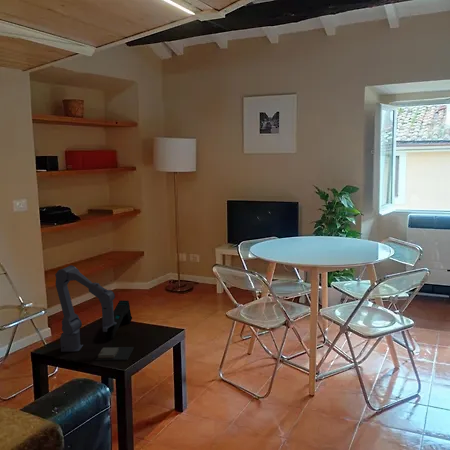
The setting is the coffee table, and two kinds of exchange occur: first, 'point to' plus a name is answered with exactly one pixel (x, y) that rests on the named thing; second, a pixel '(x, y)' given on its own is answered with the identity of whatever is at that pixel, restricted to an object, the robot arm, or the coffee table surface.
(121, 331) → the coffee table surface
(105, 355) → the tile
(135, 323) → the coffee table surface
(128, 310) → the gun
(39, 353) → the coffee table surface
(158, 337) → the coffee table surface
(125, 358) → the mat
